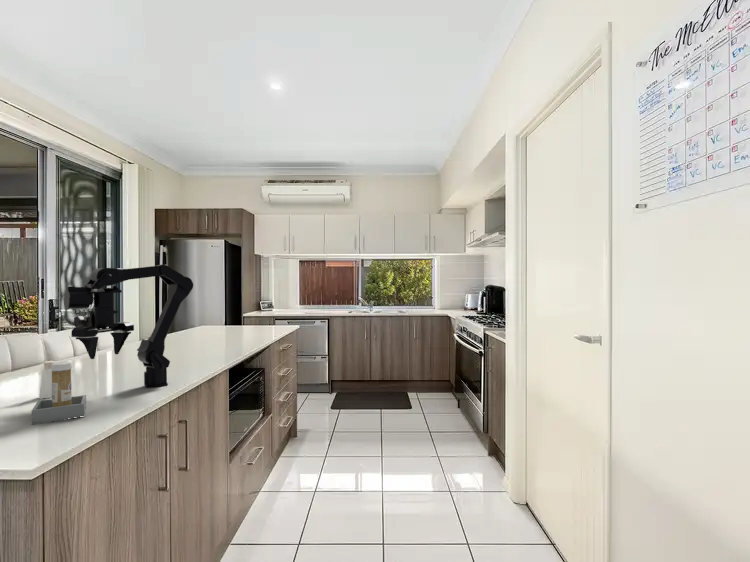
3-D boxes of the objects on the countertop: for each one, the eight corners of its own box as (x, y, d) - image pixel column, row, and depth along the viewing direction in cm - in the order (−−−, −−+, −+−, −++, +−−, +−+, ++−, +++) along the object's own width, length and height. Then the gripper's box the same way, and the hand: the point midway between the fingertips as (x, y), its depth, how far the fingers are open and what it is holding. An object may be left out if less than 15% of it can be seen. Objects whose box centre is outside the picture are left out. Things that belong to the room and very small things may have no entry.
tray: (86, 407, 126) (86, 394, 126) (84, 417, 116) (84, 403, 116) (38, 413, 120) (37, 400, 120) (31, 424, 110) (31, 410, 110)
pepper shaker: (57, 393, 142) (56, 359, 142) (62, 396, 139) (62, 361, 139) (36, 397, 138) (36, 361, 138) (41, 399, 135) (41, 363, 135)
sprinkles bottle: (71, 413, 118) (71, 362, 118) (50, 416, 115) (50, 364, 115) (72, 409, 121) (72, 360, 122) (51, 412, 119) (51, 362, 119)
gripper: (107, 305, 151) (108, 351, 151) (56, 309, 133) (57, 361, 133) (134, 305, 149) (135, 352, 149) (86, 309, 131) (87, 362, 130)
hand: (104, 356), depth 140 cm, fingers open, 9 cm apart
